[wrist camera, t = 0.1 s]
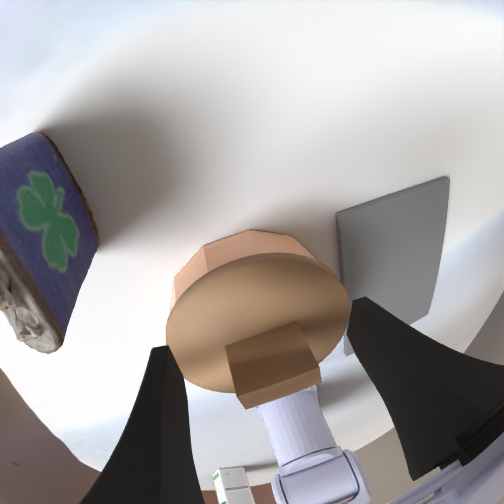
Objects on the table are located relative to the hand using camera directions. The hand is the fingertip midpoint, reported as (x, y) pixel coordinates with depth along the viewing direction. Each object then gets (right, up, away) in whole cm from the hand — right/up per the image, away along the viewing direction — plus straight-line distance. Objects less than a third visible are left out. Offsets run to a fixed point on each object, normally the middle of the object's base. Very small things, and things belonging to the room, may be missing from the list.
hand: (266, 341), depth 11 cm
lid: (0, -2, +9) cm, 10 cm away
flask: (-13, +7, +5) cm, 15 cm away
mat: (+13, +1, +15) cm, 20 cm away
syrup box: (-6, -42, +37) cm, 57 cm away
